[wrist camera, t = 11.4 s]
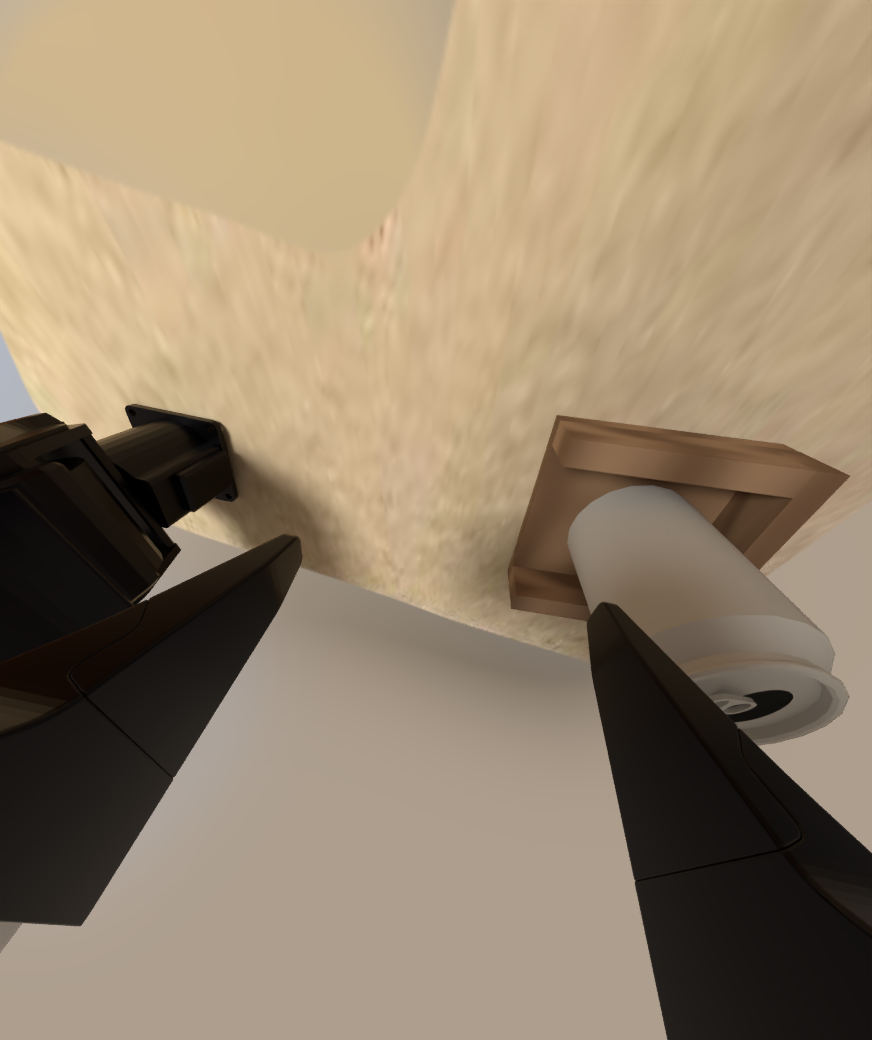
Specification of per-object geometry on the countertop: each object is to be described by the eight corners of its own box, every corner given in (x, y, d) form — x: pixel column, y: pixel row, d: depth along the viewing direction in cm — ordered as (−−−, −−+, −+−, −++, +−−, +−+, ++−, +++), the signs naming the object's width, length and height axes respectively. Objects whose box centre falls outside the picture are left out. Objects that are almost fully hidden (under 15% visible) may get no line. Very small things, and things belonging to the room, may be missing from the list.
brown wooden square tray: (507, 570, 26) (511, 608, 23) (557, 415, 19) (572, 438, 15) (666, 595, 25) (692, 637, 22) (783, 444, 18) (850, 475, 15)
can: (631, 580, 24) (734, 773, 14) (543, 546, 23) (588, 726, 13) (715, 504, 19) (950, 708, 10) (611, 459, 19) (752, 631, 9)
